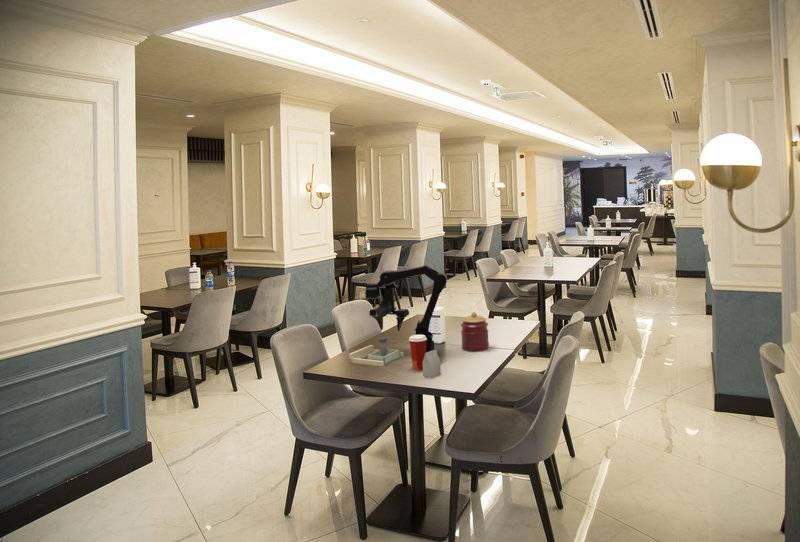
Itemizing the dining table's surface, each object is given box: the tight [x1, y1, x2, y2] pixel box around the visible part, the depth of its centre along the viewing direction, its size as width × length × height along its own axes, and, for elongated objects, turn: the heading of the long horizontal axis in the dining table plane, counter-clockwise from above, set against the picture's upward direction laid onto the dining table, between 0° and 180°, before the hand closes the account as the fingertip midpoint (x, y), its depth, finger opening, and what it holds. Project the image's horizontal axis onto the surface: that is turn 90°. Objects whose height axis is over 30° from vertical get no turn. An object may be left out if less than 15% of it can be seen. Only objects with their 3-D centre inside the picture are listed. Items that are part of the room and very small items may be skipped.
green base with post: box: [366, 336, 401, 366], centre depth 257 cm, size 9×13×10 cm
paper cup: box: [408, 334, 427, 371], centre depth 244 cm, size 8×8×14 cm
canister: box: [460, 311, 490, 352], centre depth 272 cm, size 13×13×18 cm
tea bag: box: [422, 349, 442, 379], centre depth 233 cm, size 4×7×10 cm, turn 136°
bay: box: [348, 344, 405, 367], centre depth 260 cm, size 18×18×5 cm
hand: (390, 330), depth 268 cm, fingers open, 9 cm apart
